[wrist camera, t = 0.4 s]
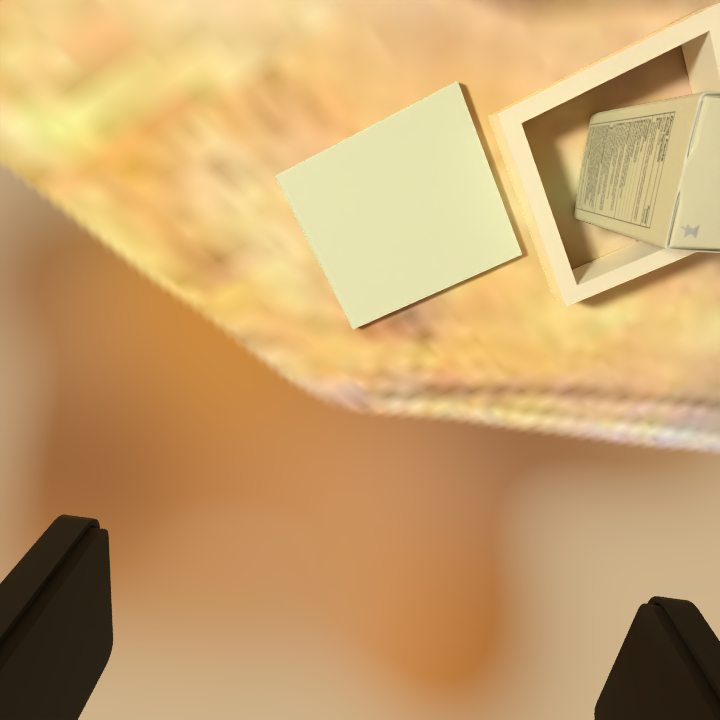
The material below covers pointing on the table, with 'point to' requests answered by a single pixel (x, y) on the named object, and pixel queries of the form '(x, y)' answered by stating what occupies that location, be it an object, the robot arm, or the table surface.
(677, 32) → the collar
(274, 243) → the table surface
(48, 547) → the robot arm
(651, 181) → the skincare box
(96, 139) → the table surface
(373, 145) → the mat
